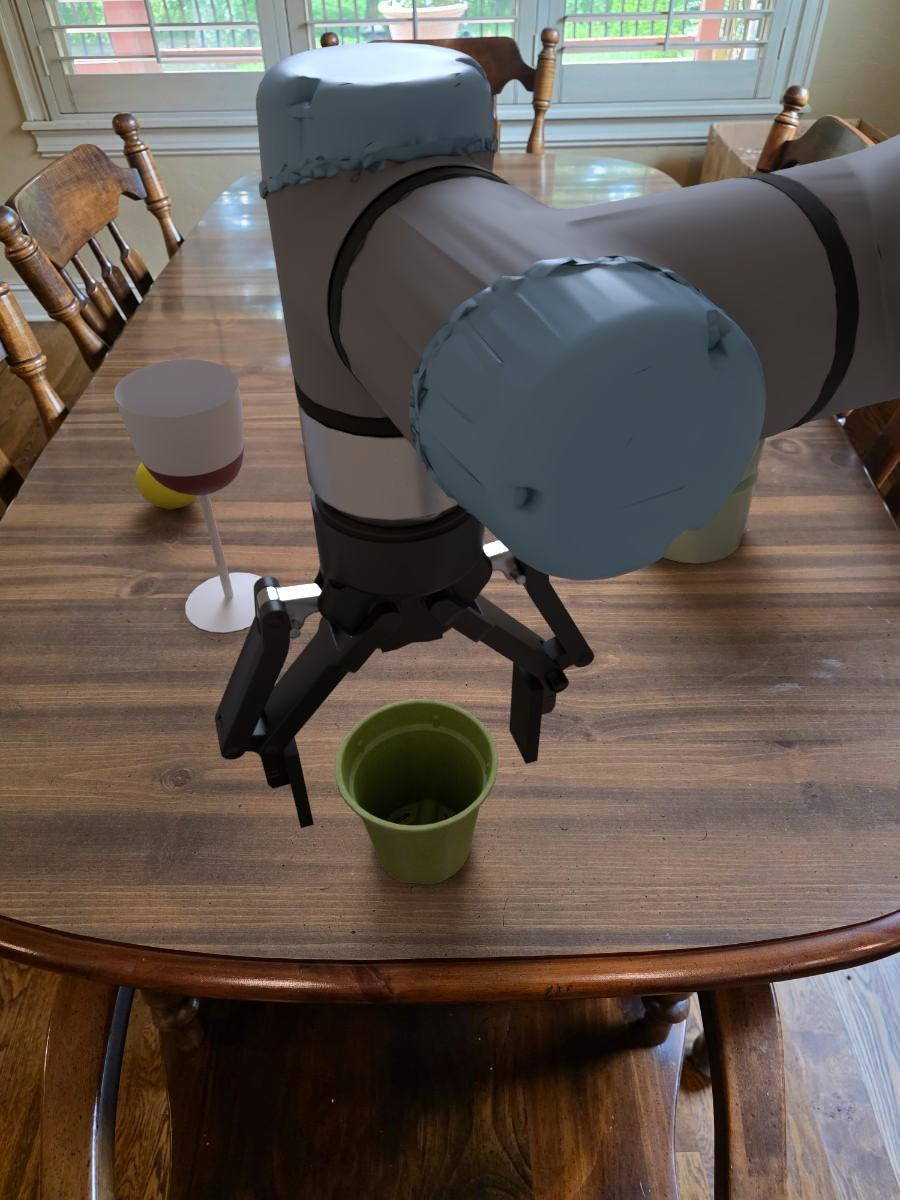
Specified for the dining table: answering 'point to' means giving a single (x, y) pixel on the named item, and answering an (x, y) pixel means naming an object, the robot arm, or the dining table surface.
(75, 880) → the dining table surface
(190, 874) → the dining table surface
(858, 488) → the dining table surface
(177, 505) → the lemon
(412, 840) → the plant pot
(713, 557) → the cup stack
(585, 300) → the robot arm
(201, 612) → the wineglass
